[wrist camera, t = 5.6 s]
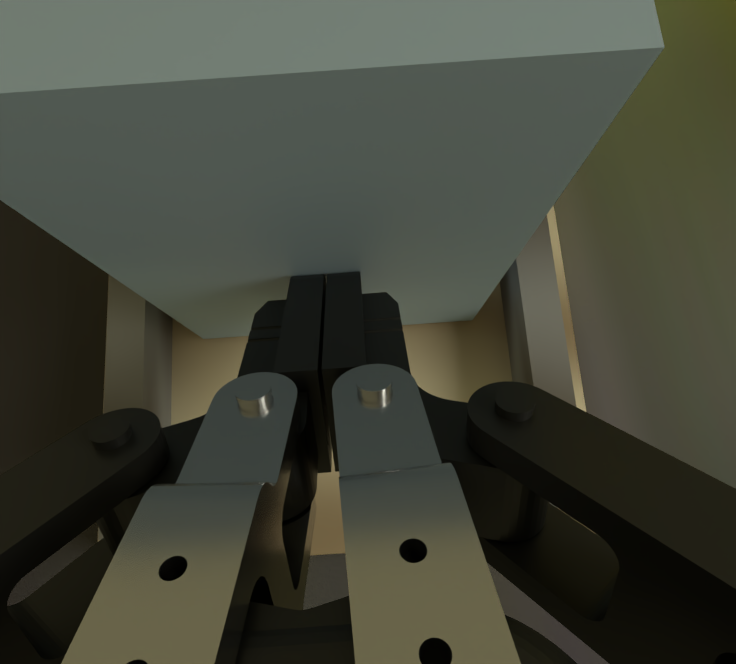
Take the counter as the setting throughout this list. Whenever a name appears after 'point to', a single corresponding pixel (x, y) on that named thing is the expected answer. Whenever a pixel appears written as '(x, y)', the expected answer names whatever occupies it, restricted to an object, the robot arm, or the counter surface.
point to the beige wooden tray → (423, 344)
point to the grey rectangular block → (307, 139)
